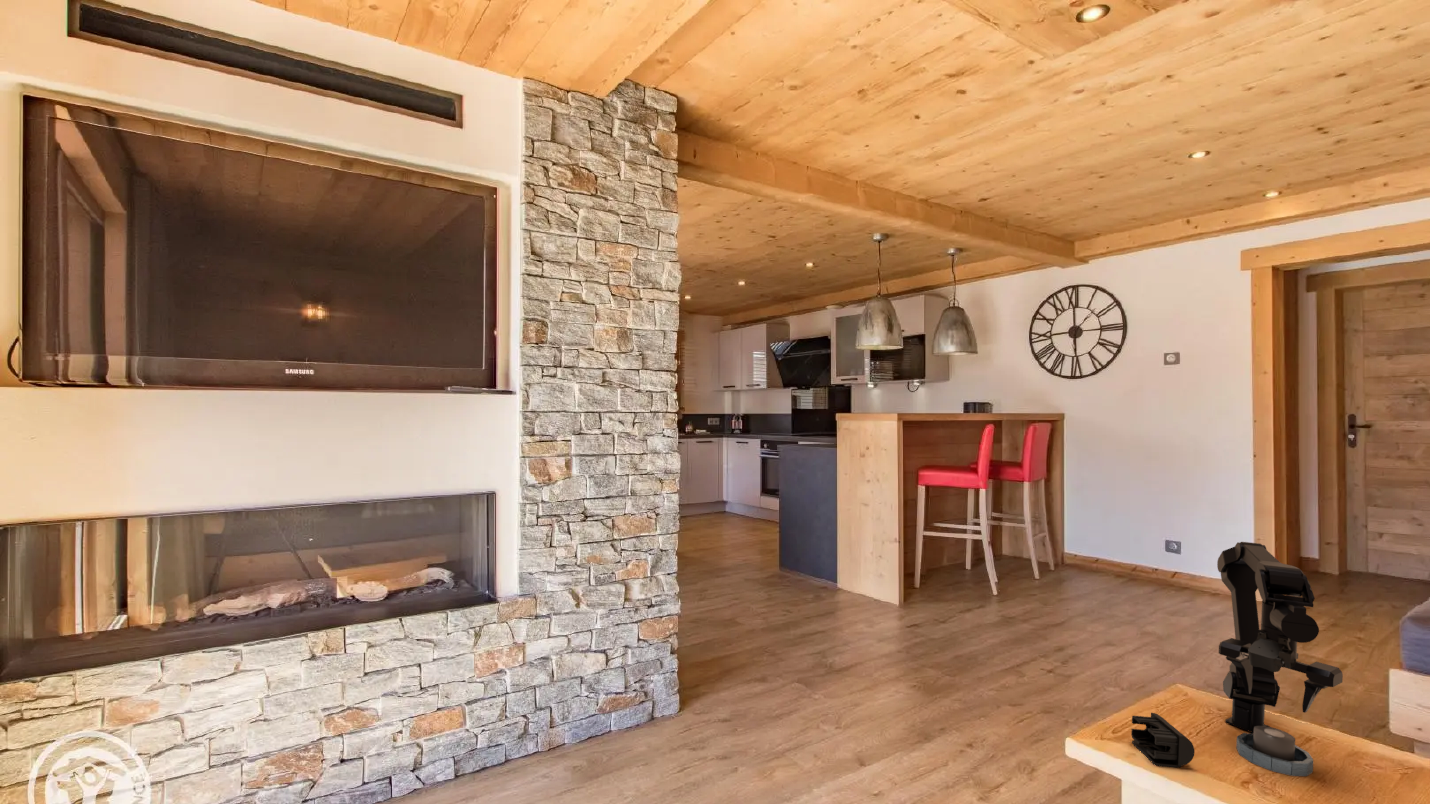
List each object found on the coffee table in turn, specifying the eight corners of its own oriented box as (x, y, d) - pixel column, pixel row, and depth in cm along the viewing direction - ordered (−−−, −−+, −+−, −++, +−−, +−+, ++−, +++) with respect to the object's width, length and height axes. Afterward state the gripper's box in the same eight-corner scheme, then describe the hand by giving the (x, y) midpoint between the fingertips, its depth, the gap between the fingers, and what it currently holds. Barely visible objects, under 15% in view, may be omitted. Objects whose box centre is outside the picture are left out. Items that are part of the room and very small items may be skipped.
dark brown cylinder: (1260, 746, 139) (1261, 721, 139) (1299, 761, 133) (1300, 736, 133) (1247, 753, 135) (1248, 728, 135) (1286, 769, 130) (1288, 743, 130)
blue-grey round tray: (1251, 739, 142) (1251, 728, 142) (1320, 766, 132) (1321, 754, 132) (1227, 752, 136) (1227, 741, 136) (1298, 781, 126) (1299, 769, 126)
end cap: (1194, 771, 129) (1195, 737, 129) (1156, 767, 129) (1157, 733, 129) (1165, 744, 139) (1166, 713, 139) (1129, 741, 139) (1131, 710, 139)
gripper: (1208, 618, 138) (1205, 691, 138) (1324, 648, 122) (1320, 731, 122) (1231, 611, 144) (1228, 682, 144) (1345, 639, 128) (1341, 719, 128)
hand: (1275, 702), depth 134 cm, fingers open, 9 cm apart
